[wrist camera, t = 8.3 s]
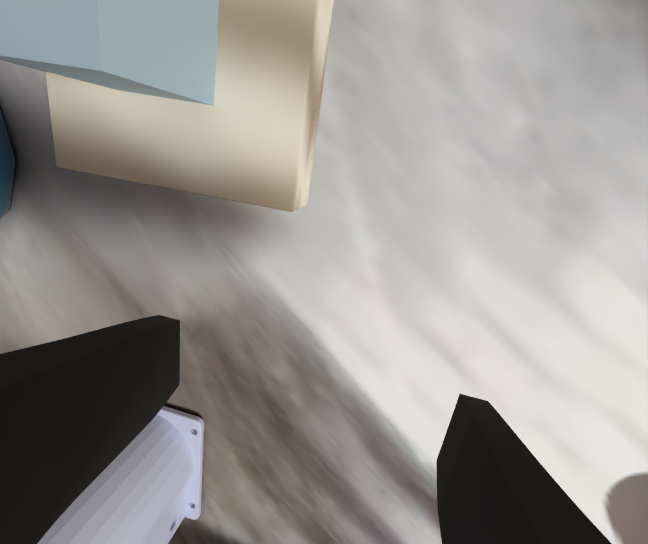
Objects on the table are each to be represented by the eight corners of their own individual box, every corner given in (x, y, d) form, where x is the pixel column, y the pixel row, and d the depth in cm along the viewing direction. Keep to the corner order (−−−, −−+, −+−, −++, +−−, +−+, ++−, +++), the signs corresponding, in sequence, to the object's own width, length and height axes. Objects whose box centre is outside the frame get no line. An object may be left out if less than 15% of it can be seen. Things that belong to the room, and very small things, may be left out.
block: (213, 105, 14) (101, 70, 9) (118, 90, 14) (-38, 49, 9) (220, -30, 12) (88, -170, 7) (113, -40, 13) (-77, -173, 8)
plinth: (306, 205, 17) (291, 211, 14) (99, 166, 19) (56, 166, 16) (348, -113, 13) (336, -175, 10) (78, -120, 15) (17, -174, 12)
